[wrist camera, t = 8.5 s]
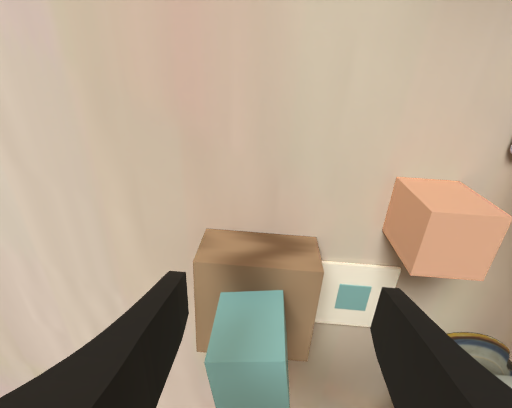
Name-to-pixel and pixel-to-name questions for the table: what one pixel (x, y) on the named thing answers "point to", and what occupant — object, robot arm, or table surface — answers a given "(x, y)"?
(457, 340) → the apothecary jar
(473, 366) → the robot arm
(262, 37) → the table surface
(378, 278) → the card
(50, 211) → the table surface
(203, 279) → the walnut block
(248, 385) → the teal block
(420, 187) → the terracotta block
